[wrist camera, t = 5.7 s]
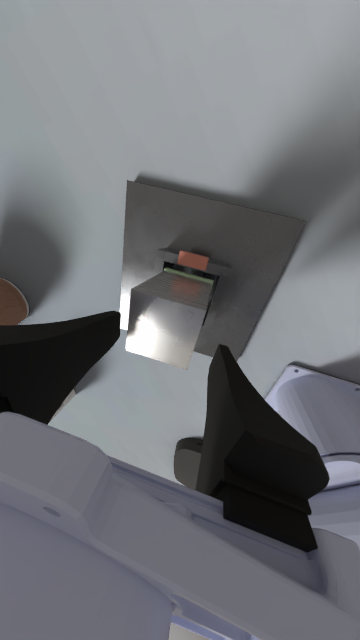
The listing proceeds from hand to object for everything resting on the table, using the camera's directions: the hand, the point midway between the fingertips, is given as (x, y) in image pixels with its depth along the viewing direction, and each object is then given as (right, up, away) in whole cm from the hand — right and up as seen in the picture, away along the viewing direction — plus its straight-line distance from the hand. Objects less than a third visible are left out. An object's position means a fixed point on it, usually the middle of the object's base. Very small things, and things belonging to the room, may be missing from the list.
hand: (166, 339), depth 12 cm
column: (+1, +4, +4) cm, 5 cm away
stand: (+2, +5, +7) cm, 9 cm away
